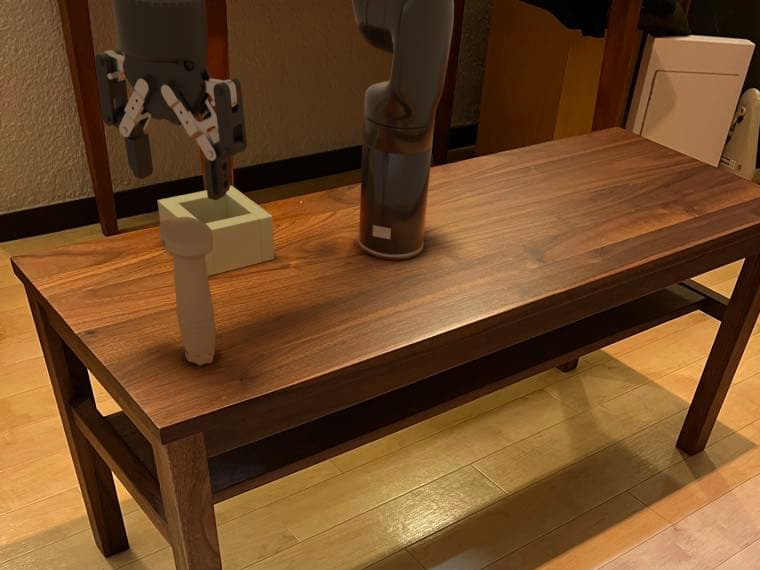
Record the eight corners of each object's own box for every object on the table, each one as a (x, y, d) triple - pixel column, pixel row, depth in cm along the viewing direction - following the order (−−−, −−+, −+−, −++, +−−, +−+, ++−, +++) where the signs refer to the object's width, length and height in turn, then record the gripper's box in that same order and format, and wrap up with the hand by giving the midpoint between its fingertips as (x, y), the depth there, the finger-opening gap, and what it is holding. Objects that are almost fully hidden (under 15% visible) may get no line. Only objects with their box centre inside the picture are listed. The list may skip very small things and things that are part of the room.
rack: (234, 227, 115) (231, 185, 111) (274, 259, 109) (272, 215, 105) (163, 243, 110) (157, 200, 105) (201, 278, 104) (196, 233, 100)
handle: (191, 378, 88) (175, 248, 78) (169, 349, 92) (150, 221, 81) (232, 367, 90) (221, 239, 80) (209, 340, 94) (195, 213, 83)
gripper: (256, -5, 67) (264, 191, 78) (116, -35, 70) (143, 157, 82) (203, 11, 62) (220, 218, 73) (56, -22, 65) (94, 181, 77)
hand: (179, 186), depth 77 cm, fingers open, 8 cm apart
